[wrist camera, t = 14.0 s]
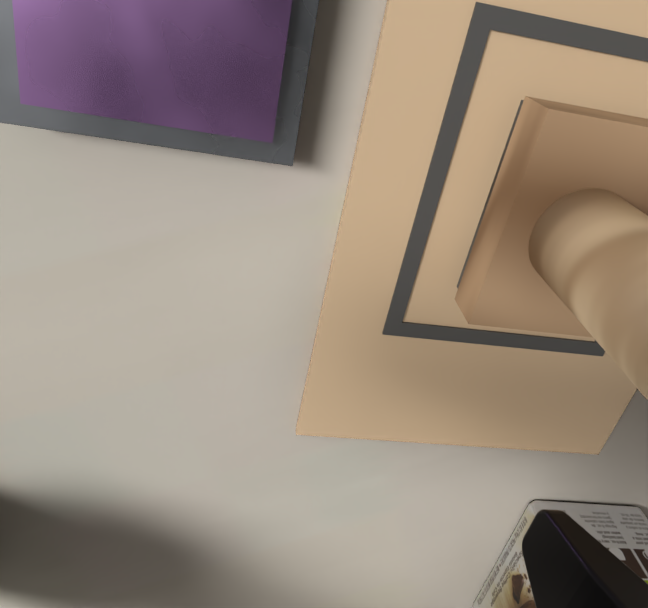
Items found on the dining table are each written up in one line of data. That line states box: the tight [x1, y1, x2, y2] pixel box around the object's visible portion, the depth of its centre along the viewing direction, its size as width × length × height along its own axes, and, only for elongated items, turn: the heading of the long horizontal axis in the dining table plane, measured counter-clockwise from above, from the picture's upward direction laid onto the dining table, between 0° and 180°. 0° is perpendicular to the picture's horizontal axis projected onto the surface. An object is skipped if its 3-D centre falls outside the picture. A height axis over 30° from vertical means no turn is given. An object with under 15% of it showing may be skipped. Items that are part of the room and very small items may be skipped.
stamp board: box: [296, 0, 648, 455], centre depth 20 cm, size 22×14×1 cm, turn 170°
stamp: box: [455, 96, 648, 400], centre depth 16 cm, size 7×5×8 cm
